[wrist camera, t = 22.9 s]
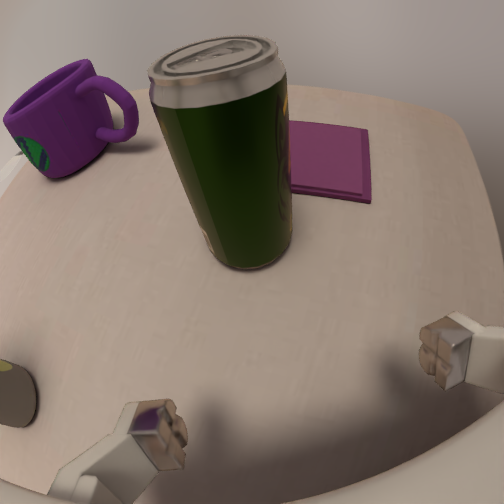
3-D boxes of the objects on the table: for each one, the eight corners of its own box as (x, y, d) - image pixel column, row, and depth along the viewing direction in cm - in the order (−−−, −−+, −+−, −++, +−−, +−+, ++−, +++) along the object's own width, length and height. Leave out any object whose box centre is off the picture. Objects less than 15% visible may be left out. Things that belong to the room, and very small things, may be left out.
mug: (29, 184, 27) (-12, 126, 19) (80, 125, 33) (52, 69, 24) (122, 194, 23) (69, 99, 15) (180, 118, 28) (155, 36, 20)
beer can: (232, 289, 17) (159, 99, 7) (196, 228, 20) (131, 64, 10) (309, 246, 18) (315, 52, 8) (264, 194, 21) (241, 28, 11)
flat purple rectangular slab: (367, 132, 24) (368, 126, 23) (370, 204, 19) (372, 197, 19) (222, 121, 27) (220, 115, 26) (186, 183, 22) (184, 177, 22)
